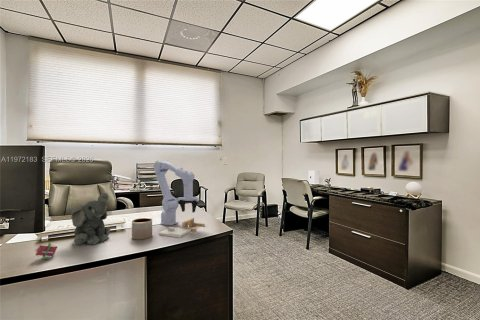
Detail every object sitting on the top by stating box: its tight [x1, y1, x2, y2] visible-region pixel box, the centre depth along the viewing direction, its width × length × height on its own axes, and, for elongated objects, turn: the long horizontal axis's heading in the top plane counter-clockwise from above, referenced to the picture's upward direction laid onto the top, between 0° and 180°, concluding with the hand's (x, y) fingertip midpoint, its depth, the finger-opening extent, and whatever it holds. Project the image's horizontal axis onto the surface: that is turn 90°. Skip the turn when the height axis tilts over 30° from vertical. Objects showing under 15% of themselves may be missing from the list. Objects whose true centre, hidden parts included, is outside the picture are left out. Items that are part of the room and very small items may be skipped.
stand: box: [158, 226, 192, 238], centre depth 139 cm, size 14×12×3 cm
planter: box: [131, 217, 153, 241], centre depth 133 cm, size 11×11×10 cm
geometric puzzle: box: [35, 241, 58, 260], centre depth 104 cm, size 7×7×8 cm
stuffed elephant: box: [70, 192, 111, 245], centre depth 127 cm, size 19×21×27 cm
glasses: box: [181, 217, 206, 232], centre depth 150 cm, size 10×12×4 cm
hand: (188, 211), depth 151 cm, fingers open, 7 cm apart
